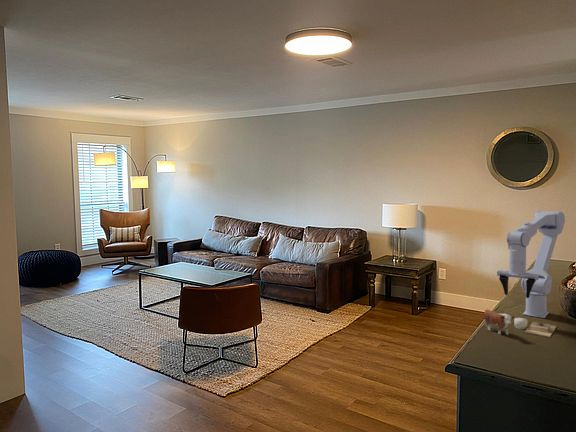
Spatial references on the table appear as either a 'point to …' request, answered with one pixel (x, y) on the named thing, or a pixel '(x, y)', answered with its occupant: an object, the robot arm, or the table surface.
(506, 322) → the bull figurine
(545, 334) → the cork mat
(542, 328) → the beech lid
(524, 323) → the white round lump
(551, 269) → the table surface
